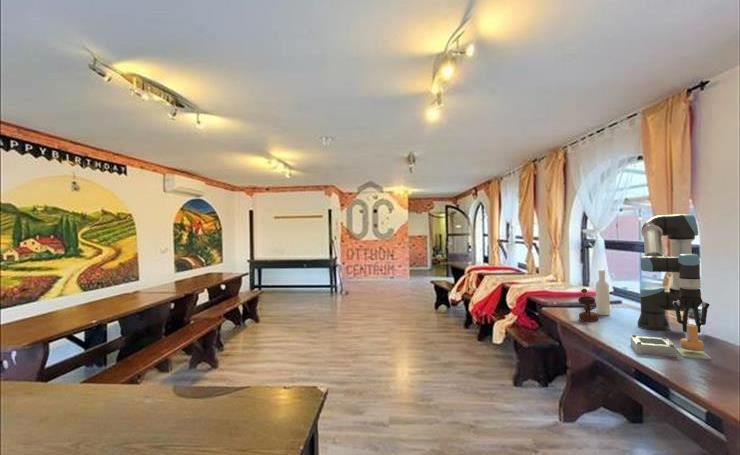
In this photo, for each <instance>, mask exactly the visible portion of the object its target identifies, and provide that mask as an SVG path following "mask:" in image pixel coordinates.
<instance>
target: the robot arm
mask: <svg viewBox="0 0 740 455" xmlns="http://www.w3.org/2000/svg"><path fill="white" fill-rule="evenodd" d="M640 232H641V237H643V241H644V242H643V244H644V245H643V246H644V248H643V249H644V256H641V257H640V270H641V271H642V272H649V273H672V284H671V285H669V289H666V287H664V286H647V287H642V288H641V289H640V290H639V291H640V292H639V297H640V300H639V301H640V314H639V317H638V320H637V327H638V328H640V329H646V330H648V331H649V330H650V331H670V329H671V325H670V322H669V321H668V317H667V312H666V311H671V312H672V311H673V312H674V311H675V316H676V321H677V323H678V324H681V325H682V331H683V332H684V334H685V338H686V339H687V340H689V325H687V324H688V320H689V313H693V317H694V322H695V324H694V325H695V326H696V327H697V341H698V340H699V334H700V333H701V327H702V326H705V325H706V324H707V316H708V315H707V314H708V308H710V303H708V302H705V301H703V299H702V290H701V285H702V284H701V260H700V259H701V258H700V255H698V254H695V253H692V252H693V251H692V250H693V249H692V248H693V246H692V242H693V241H694V240H695V239H696V236H699V228H698V223H697V219H696V217H695V215H693V214H687V213H685V214H684V213H681V214H665V215H664V214H660V215H656V216H653V217H651V218H649V219H648V220H646V222H644V224H643V225H642V227H641V231H640ZM662 237H667V239H668V241H670V242H671V256H664V255H663V254H664V252H663V245H662ZM700 306H701V315H700V314H699V307H700ZM681 312H682V315H681Z"/></svg>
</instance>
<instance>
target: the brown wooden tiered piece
mask: <svg viewBox="0 0 740 455" xmlns="http://www.w3.org/2000/svg"><path fill="white" fill-rule="evenodd" d="M580 292H581V293H582V294H583V296H579V297H578V303H579V304H581V305H584V307H583V310H584V311H581V312H580V313H578V317H579V318H578V319H579V320H580V319H581V320H580V321H582V320H584V321H583V322H596V321H599V315H598V314H597V312H593V311H592V310H596V308H595V307H594V306H593V307H590V305H593V304H595V303H596V297H594V296H590V295H586V293H588V289H586V287H585V288H582V289H581V290H580Z"/></svg>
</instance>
